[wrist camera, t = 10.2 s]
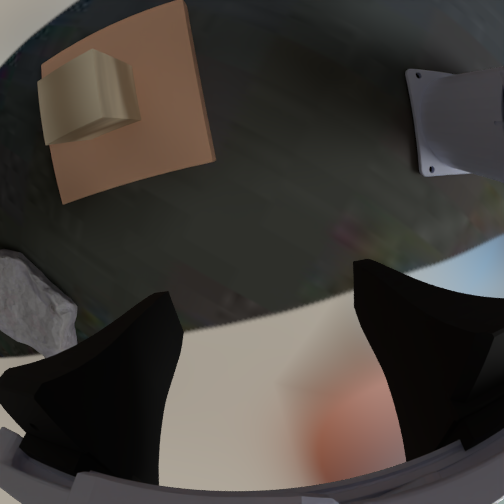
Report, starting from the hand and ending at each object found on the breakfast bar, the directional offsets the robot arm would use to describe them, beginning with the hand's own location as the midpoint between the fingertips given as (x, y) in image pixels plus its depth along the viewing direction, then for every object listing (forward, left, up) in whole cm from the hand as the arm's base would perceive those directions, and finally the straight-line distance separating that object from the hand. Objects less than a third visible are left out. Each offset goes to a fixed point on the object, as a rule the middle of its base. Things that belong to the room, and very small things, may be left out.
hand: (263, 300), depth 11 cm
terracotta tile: (+8, -11, -10) cm, 17 cm away
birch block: (+8, -11, -8) cm, 16 cm away
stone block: (+24, +3, -10) cm, 26 cm away
